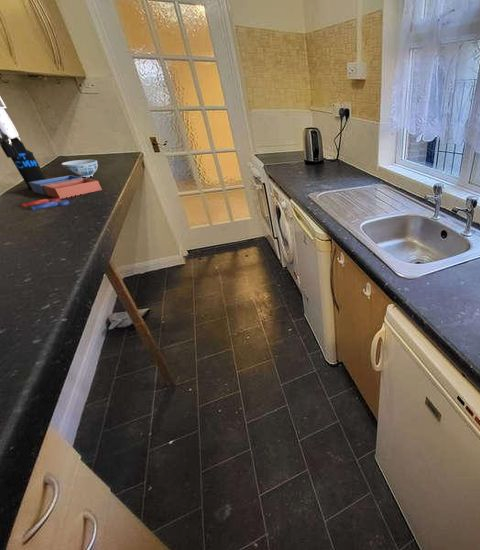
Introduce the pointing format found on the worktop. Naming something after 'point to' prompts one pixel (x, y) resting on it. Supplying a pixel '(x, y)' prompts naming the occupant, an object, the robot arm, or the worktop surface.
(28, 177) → the aerosol can
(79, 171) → the chinaware
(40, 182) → the blue bin
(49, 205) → the blue spoon
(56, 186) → the red bin
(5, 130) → the robot arm
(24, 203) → the red spoon
